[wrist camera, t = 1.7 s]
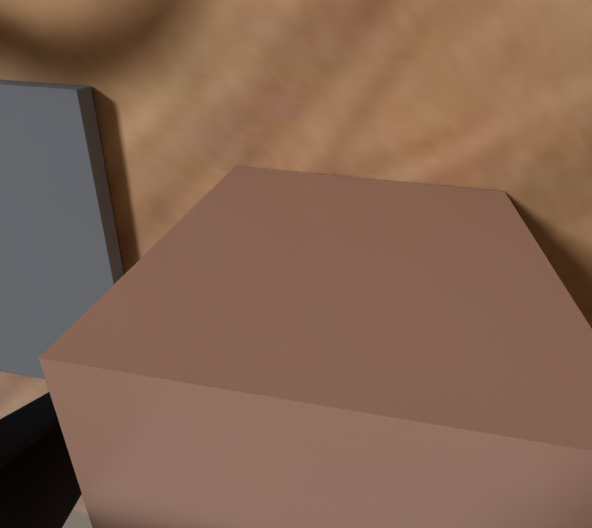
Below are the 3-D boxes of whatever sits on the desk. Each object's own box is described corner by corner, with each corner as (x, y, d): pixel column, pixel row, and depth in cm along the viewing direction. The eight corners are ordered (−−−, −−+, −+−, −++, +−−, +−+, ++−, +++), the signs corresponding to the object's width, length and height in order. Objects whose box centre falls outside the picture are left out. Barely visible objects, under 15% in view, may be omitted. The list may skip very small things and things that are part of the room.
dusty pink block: (504, 191, 11) (677, 465, 4) (447, 394, 14) (496, 724, 7) (235, 166, 12) (38, 358, 5) (241, 362, 15) (125, 630, 8)
